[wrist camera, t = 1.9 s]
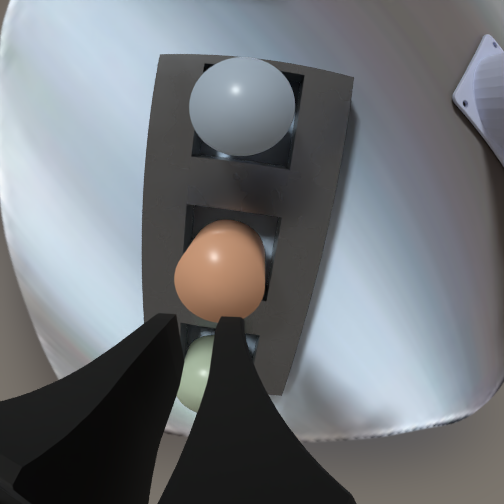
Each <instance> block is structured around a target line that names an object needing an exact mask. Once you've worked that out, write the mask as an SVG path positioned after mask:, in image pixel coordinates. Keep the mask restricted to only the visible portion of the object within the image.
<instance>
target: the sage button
mask: <svg viewBox="0 0 504 504" xmlns="http://www.w3.org/2000/svg"><path fill="white" fill-rule="evenodd" d="M214 336H215V335H207V336H202V337H200V338H198V339H196V340H194V341H193V342H192V343H191V345H190V346H189V348H188V351H187V354H186V357H185V360H184V361H185V362H184V367H183V373H182V377H181V382H180V386H179V390H178V393H177V397H178V399H179V400H180V402H181V403H182V404H183V405H184V406H186V407H187V408H189V409H190V410H192V411H194V412H198V409H199V406H200V403H201V400H202V397H203V394H204V391H205V388H206V385H207V380H208V376H209V370H210V363H211V356H212V349H213V342H214Z"/></svg>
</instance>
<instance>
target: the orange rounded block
mask: <svg viewBox="0 0 504 504" xmlns="http://www.w3.org/2000/svg"><path fill="white" fill-rule="evenodd" d="M174 283H175V288H176V292H177V294H178V296H179V298H180V300H181V301H182V303H183V304H184V305H185V307H186V308H187V309H188V310H189V311H191V312H192V313H193V314H195V315H196V316H198V317H200V318H202V319H204V320H207V321H211V322H216V323H218V322H219V320H220V318H221V316H227V317H242V318H245V317H247V316H249V315H250V314H251V313H252V312H254V311H255V310H256V308H257V307H258V306H259V304H260V303H261V301H262V298H263V295H264V290H265V249H264V245H263V242H262V240H261V238H260V237H259V235H258V234H257V233H256V232H255V231H254V230H253V229H252V228H251V227H250V226H248V225H247V224H245V223H242V222H240V221H236V220H230V219H223V220H217V221H214V222H212V223H210V224H208V225H206V226H205V227H204V228H203V229H201V230H200V232H199V233H198V234H197V236H196V237H195V238H194V240H193V241H192V243H191V244H190V246H189V247H188V249H187V250H186V252H185V253H184V254H183V256H182V257H181V259H180V261H179V262H178V264H177V267H176V270H175V276H174Z"/></svg>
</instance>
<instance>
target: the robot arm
mask: <svg viewBox="0 0 504 504" xmlns="http://www.w3.org/2000/svg"><path fill="white" fill-rule="evenodd" d="M493 45H494V46H493ZM452 98H453V102H454V103H455V104H456V106H457V107H458V108H459V109H460V110H461V111H462V112H463V114H464V115H465V116H466V117H467V118H468V119H469V121H470V122H471V123H472V124H473V126H474V127H475V128H476V129H477V131H478V132H479V133H480V134H481V136H482V137H483V138H484V140H485V141H486V142H487V144H488V145H489V146H490V148H491V149H492V151H493V152H494V153H495V155H496V156H497V158H498V159H499V161H500V162H501V164H502V165H503V167H504V51H503V50H502V48H501V47H500V46H499V45H498V43H497V42H496V41H495V40H494V39H493V37H492V36H491V35H489V34H486V35H484V36H483V39H482V41H481V43H480V45H479V47H478V49H477V51H476V53H475V54H474V56H473V58H472V60H471V62H470V64H469V66H468V68H467V70H466V71H465V73H464V75H463V77H462V79H461V81H460V82H459V84H458V86H457V88H456V89H455V91H454V93H453V96H452ZM463 102H464V103H465V107H464V106H463ZM184 362H185V361H184V356H183V351H182V345H181V339H180V334H179V328H178V322H177V316H176V314H166V313H158V314H156V315H155V316H153V317H152V318H151V319H149V320H148V321H147V322H145V323H144V324H143V325H142V326H140V327H139V328H138V329H136V330H135V331H134V332H133V333H131V334H130V335H129V336H127V337H126V338H125V339H123V340H122V341H121V342H119V343H118V344H117V345H115V346H114V347H112V348H111V349H110V350H108V351H107V352H105V353H104V354H102V355H101V356H99V357H98V358H96V359H95V360H93V361H92V362H90V363H89V364H87V365H86V366H84V367H82V368H81V369H79V370H77V371H75V372H73V373H72V374H70V375H68V376H66V377H64V378H62V379H60V380H58V381H56V382H54V383H52V384H49V385H47V386H44V387H42V388H40V389H37V390H35V391H33V392H30V393H27V394H24V395H21V396H18V397H15V398H11V399H8V400H5V401H0V504H148V502H149V494H150V488H151V482H152V475H153V471H154V466H155V460H156V456H157V451H158V448H159V444H160V441H161V438H162V435H163V432H164V429H165V427H166V424H167V421H168V418H169V415H170V412H171V410H172V407H173V404H174V401H175V398H176V396H177V393H178V390H179V386H180V382H181V377H182V373H183V367H184ZM158 504H356V502H355V500H354V498H353V496H352V495H351V494H350V492H348V491H347V490H346V489H345V488H344V487H343V486H341V485H340V484H339V483H338V482H337V481H336V480H335V479H334V478H333V477H332V476H331V475H329V473H328V472H327V471H326V470H325V469H324V468H322V467H321V465H320V464H319V463H318V462H317V461H316V460H315V459H314V458H313V457H312V456H311V455H310V453H309V452H308V451H307V450H306V449H305V447H304V446H303V445H302V444H301V442H300V441H299V440H298V439H297V437H296V436H295V435H294V433H293V432H292V431H291V430H290V428H289V427H288V426H287V424H286V423H285V421H284V420H283V418H282V417H281V415H280V414H279V412H278V411H277V409H276V407H275V406H274V404H273V402H272V401H271V399H270V397H269V395H268V393H267V392H266V390H265V388H264V386H263V384H262V382H261V379H260V377H259V375H258V373H257V371H256V368H255V366H254V363H253V360H252V357H251V355H250V352H249V349H248V345H247V341H246V337H245V320H244V319H243V318H242V317H227V316H221V318H220V320H219V322H218V324H217V326H216V329H215V336H214V342H213V349H212V356H211V363H210V370H209V376H208V380H207V385H206V388H205V391H204V394H203V397H202V400H201V403H200V406H199V409H198V412H197V415H196V418H195V420H194V423H193V426H192V429H191V431H190V434H189V437H188V439H187V441H186V444H185V446H184V449H183V451H182V453H181V456H180V458H179V461H178V463H177V465H176V467H175V469H174V471H173V474H172V476H171V478H170V480H169V482H168V484H167V486H166V488H165V490H164V492H163V494H162V496H161V498H160V500H159V502H158Z"/></svg>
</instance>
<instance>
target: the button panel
mask: <svg viewBox="0 0 504 504" xmlns="http://www.w3.org/2000/svg"><path fill="white" fill-rule="evenodd" d="M230 58H235V56H222V55H200V54H162V55H160V57H159V62H158V68H157V73H156V79H155V85H154V92H153V98H152V105H151V113H150V121H149V129H148V138H147V148H146V160H145V173H144V188H143V210H142V289H143V311H144V323H145V322H147V321H148V320H149V319H151V318H152V317H153V316H155V315H156V314H158V313H166V314H176V316H177V322H178V328H179V334H180V339H181V345H182V351H183V356H184V360H185V357H186V354H187V324H191V325H197V326H203V327H209V328H215V329H216V326H217V324H218V323H216V322H211V321H207V320H204V319H202V318H200V317H198V316H196V315H195V314H193V313H192V312H191V311H189V310H188V309H187V308H186V307H185V305H184V304H183V303H182V301H181V300H180V298H179V296H178V294H177V292H176V288H175V283H174V276H175V270H176V267H177V264H178V262H179V261H180V259H181V257H182V256H183V254H184V253H185V252H186V250H187V249H188V247H189V246H190V244H191V240H192V227H193V215H194V205H198V206H205V207H213V208H220V209H227V210H235V211H242V212H248V213H255V214H262V215H269V216H275V217H279V218H278V224H277V230H276V235H275V241H274V247H273V252H272V258H271V263H270V269H269V274H268V280H267V285H265V290H264V295H263V298H262V301H261V303H260V304H259V306H258V307H257V308H256V310H255V311H254V312H252V313H251V314H250V315H249V316H247V317H245V318H243V319H244V320H245V333H248V334H255V335H257V338H256V343H255V348H254V354H253V359H252V360H253V363H254V366H255V368H256V371H257V373H258V375H259V377H260V379H261V382H262V384H263V386H264V388H265V390H266V392H267V393H268V394H270V395H281V396H282V393H283V390H284V387H285V384H286V381H287V378H288V375H289V372H290V368H291V365H292V362H293V359H294V355H295V352H296V349H297V345H298V342H299V339H300V335H301V332H302V328H303V325H304V321H305V318H306V314H307V310H308V307H309V303H310V299H311V295H312V292H313V288H314V284H315V280H316V276H317V272H318V268H319V264H320V260H321V256H322V251H323V247H324V243H325V239H326V234H327V230H328V225H329V221H330V216H331V211H332V207H333V202H334V197H335V192H336V187H337V182H338V176H339V171H340V166H341V160H342V155H343V149H344V143H345V137H346V131H347V124H348V118H349V111H350V104H351V97H352V89H353V81H354V77H350V76H346V75H343V74H339V73H334V72H330V71H326V70H321V69H317V68H312V67H307V66H302V65H296V64H291V63H284V62H278V61H271V60H264V59H259V60H263V61H265V62H267V63H269V64H271V65H272V66H274V67H275V68H277V69H278V70H279V71H280V72H281V73H282V74H283V75H284V76H285V78H286V79H287V80H289V81H294V82H300V87H299V94H298V100H297V107H296V114H295V120H294V127H293V133H292V139H291V146H290V152H289V158H288V164H287V166H281V165H275V164H268V163H262V162H255V161H248V160H240V159H232V158H224V157H216V156H206V155H200V148H201V140H202V139H201V138H200V137H199V135H198V134H197V132H196V131H195V129H194V127H193V125H192V122H191V118H190V113H189V103H190V97H191V93H192V90H193V88H194V86H195V84H196V82H197V81H198V79H199V78H200V77H201V76H202V74H203V73H204V72H205V71H207V70H208V69H209V68H210V67H212V66H213V65H215V64H217V63H219V62H221V61H224V60H227V59H230Z"/></svg>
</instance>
